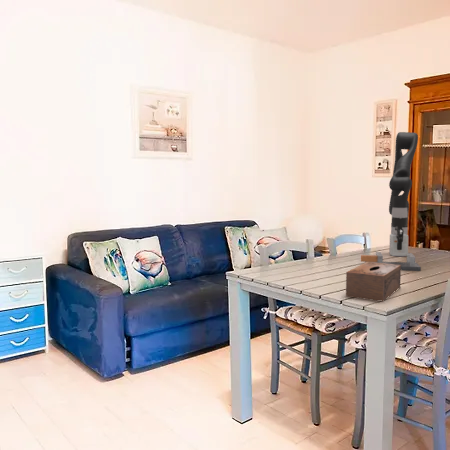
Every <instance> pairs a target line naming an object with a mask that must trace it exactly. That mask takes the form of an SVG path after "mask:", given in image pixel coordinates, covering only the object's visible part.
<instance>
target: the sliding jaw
mask: <svg viewBox="0 0 450 450" xmlns="http://www.w3.org/2000/svg"><path fill="white" fill-rule="evenodd" d="M360 262H364V263H365V262H376V263H383V262H384V255H383V254H382V252H381V251H376V252H375V255H374V254H373V255H372V254H371V255H370V254H360Z"/></svg>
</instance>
